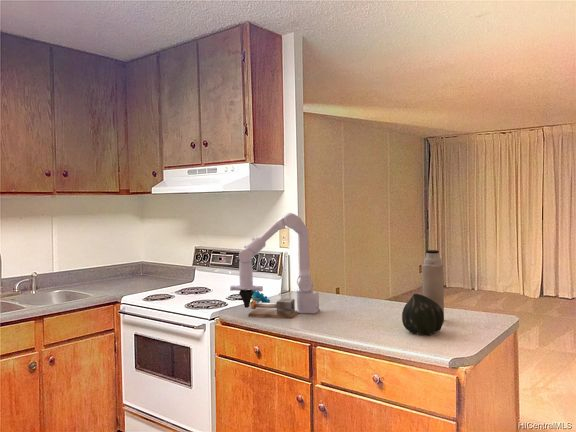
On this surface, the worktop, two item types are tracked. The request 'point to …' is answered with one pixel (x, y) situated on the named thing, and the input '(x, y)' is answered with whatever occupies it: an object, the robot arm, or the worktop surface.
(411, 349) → the worktop surface
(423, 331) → the squash
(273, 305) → the shaft
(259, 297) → the gear
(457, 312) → the worktop surface
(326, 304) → the worktop surface
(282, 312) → the bearing stand
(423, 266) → the thermos bottle
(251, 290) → the robot arm
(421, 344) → the worktop surface
